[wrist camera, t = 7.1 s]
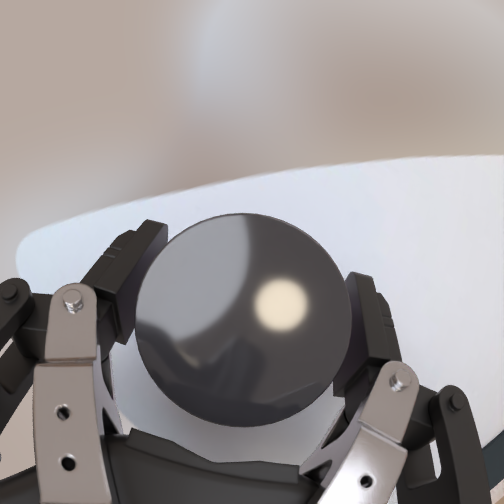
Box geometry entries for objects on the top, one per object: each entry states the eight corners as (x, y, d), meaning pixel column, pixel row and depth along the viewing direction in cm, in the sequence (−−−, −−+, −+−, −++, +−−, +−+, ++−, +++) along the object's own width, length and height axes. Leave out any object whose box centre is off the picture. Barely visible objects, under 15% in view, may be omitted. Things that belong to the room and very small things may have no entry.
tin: (205, 371, 14) (172, 445, 6) (177, 274, 14) (112, 246, 6) (303, 343, 14) (372, 387, 6) (275, 246, 15) (316, 190, 7)
